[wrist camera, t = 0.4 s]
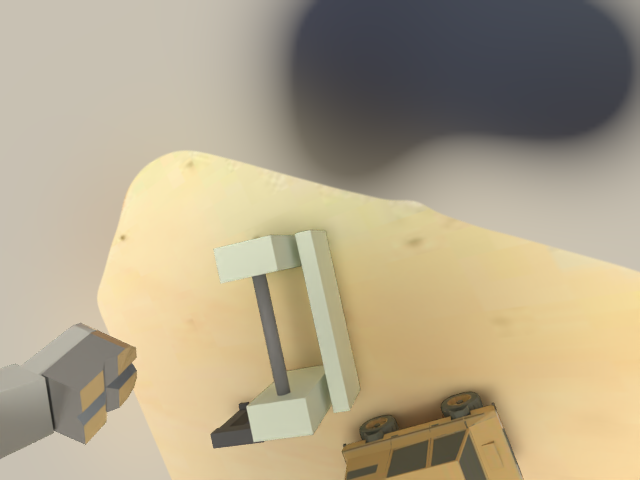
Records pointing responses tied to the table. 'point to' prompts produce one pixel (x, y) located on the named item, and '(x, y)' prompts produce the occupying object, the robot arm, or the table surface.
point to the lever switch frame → (289, 386)
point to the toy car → (435, 446)
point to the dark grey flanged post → (234, 430)
